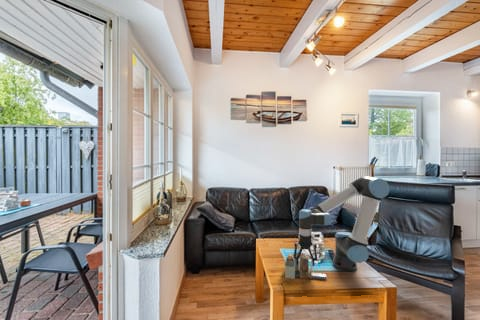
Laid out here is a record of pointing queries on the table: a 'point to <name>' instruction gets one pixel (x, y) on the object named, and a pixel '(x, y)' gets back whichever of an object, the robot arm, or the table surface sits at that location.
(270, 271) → the table surface
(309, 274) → the carriage
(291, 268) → the cabinet
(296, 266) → the mug
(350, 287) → the table surface
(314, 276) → the rail
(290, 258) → the plunger
